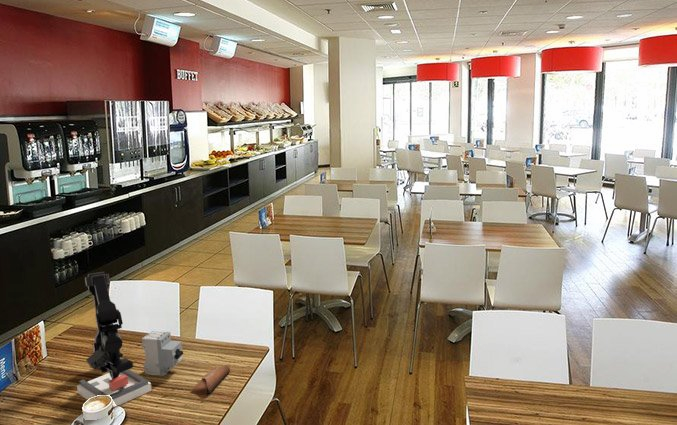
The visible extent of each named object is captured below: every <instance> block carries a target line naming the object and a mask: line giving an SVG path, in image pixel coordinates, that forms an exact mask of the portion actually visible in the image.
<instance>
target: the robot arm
mask: <svg viewBox="0 0 677 425" xmlns="http://www.w3.org/2000/svg"><path fill="white" fill-rule="evenodd" d="M84 281H85V282H84V283H85V287H87V289H88V291H89V292H90V293H91V295H92V296H93V302H94V311H95V314H94V315H95V322H96V327H97V331H96V333H95V336H94V342H93V343H92V344H93V346H92V347H93V353H92V354H91V355H90V356H88V357H87V358H86V362H87V364H88V365H89V367H90V368H92V369H93V370H97V369H98V370H99V371H100V372H102V373H105V372H108V373H109V374H110V376H111V378H112V379H114V378H117V377H119V374H120V373H121V372H123V371H126V370H128V369H129V370H131V369H133V368H134V361H132V360H130V359H129V358H126V357H124V354H123V353H122V352H121V348H122V347H123V340H122V337H121V335H120V334H119V329H122V327H123V326H122V325H124V324H123V318H122V313H121V312H120V310H119V309H117V306H116V304H115V303H114V302H112V301H111V298H110V294H109V290H108V289H109V283H111V279H110V274H109V273H105V271H99V272H93V273H88V274H87V276H86V277H84ZM122 357H124V358H122Z"/></svg>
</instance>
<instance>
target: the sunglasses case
mask: <svg viewBox="0 0 677 425" xmlns="http://www.w3.org/2000/svg"><path fill="white" fill-rule="evenodd" d="M230 372H231V368H230V366H229V365H228V364H223V365H221V366H219V367H216V368H214V369H212V370H210V371H209V372H208V373H205V374H204V375H203V376H202V378H201V379H200V380H199V381H198V382H197V383H196V384H195V385H194V386H193V387H192V388H191V390H189V391H190V392H189V393H190V394H195V395H196V394H197V395H202V396H203V395H204V396H210V394H212V392H213V391H214V389H215V388H217V386H218V385H219V384H220V382H221V381H223V379H225V377H226V376H227V375H228V374H229V373H230Z"/></svg>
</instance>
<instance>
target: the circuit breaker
mask: <svg viewBox="0 0 677 425" xmlns="http://www.w3.org/2000/svg"><path fill="white" fill-rule="evenodd" d="M141 340H142V342H141V348H142V349H143V350H144V355H145V362H144V363H143V368H144V372H145V373H144V374H145V375H152V376H163V377H164V376H165V375H166V374H168V372H169V371H170V370H172V368H175V367H176V366H177V364H179V363H180V362H181V361H182V360H183V358H184V357H183V354H184V351H183V347H182V341H179V340H172V338H171V331H162V330H161V331H159V330H151V331H150V332H149V333H147V334H146V335H145V336H143V337H142V338H141Z"/></svg>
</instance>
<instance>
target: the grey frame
mask: <svg viewBox="0 0 677 425" xmlns="http://www.w3.org/2000/svg"><path fill="white" fill-rule="evenodd" d="M122 373H123V374H125V375H127V376H129V377H130V378H132V379H134V380H136V381H137V382H138V383H136V384H134V385H131V386H129V387H127V388H124V389H122V390H120V391H117V392H115V393H113V394H111V395H110V396H111V397H112V399H113V400H114V399H116V398H118V397H121V396H123V395H125V394H127V393H130V392H132V391H134V390H136V389H139V388H141V387H143V386H145V385H148V382H149V380H148V379H147V378H144V377H142V376H141V375H140V374H138V373H135V372H133V371H132V370H131V369H128V370H126V371H123V372H122ZM78 383H79V385H81V386H82V387H84V388H85V389H87V390H88V391H90V392H91V393H93V394H94V395H96V396H97V395H107V394H105V393H104V392H102V391H100V390H99V389H97V388H96V387H94V386H93V385H91V384H90V383H88V381H87V380H85V379H81V380H79V382H78Z"/></svg>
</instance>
